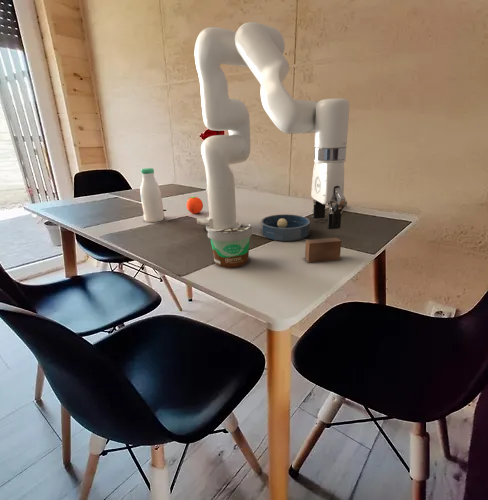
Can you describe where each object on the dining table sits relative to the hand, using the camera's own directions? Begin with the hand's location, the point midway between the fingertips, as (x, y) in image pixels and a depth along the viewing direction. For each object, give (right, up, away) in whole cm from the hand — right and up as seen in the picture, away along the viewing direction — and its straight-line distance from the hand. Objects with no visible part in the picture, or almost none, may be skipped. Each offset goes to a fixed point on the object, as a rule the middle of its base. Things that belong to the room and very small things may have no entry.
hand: (325, 223), depth 82 cm
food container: (-24, -11, +2) cm, 27 cm away
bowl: (-8, -2, +24) cm, 26 cm away
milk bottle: (-59, +5, +43) cm, 73 cm away
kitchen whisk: (+13, +8, +46) cm, 48 cm away
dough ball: (-9, +2, +27) cm, 29 cm away
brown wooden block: (0, -10, +4) cm, 10 cm away
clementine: (-44, +9, +51) cm, 68 cm away
